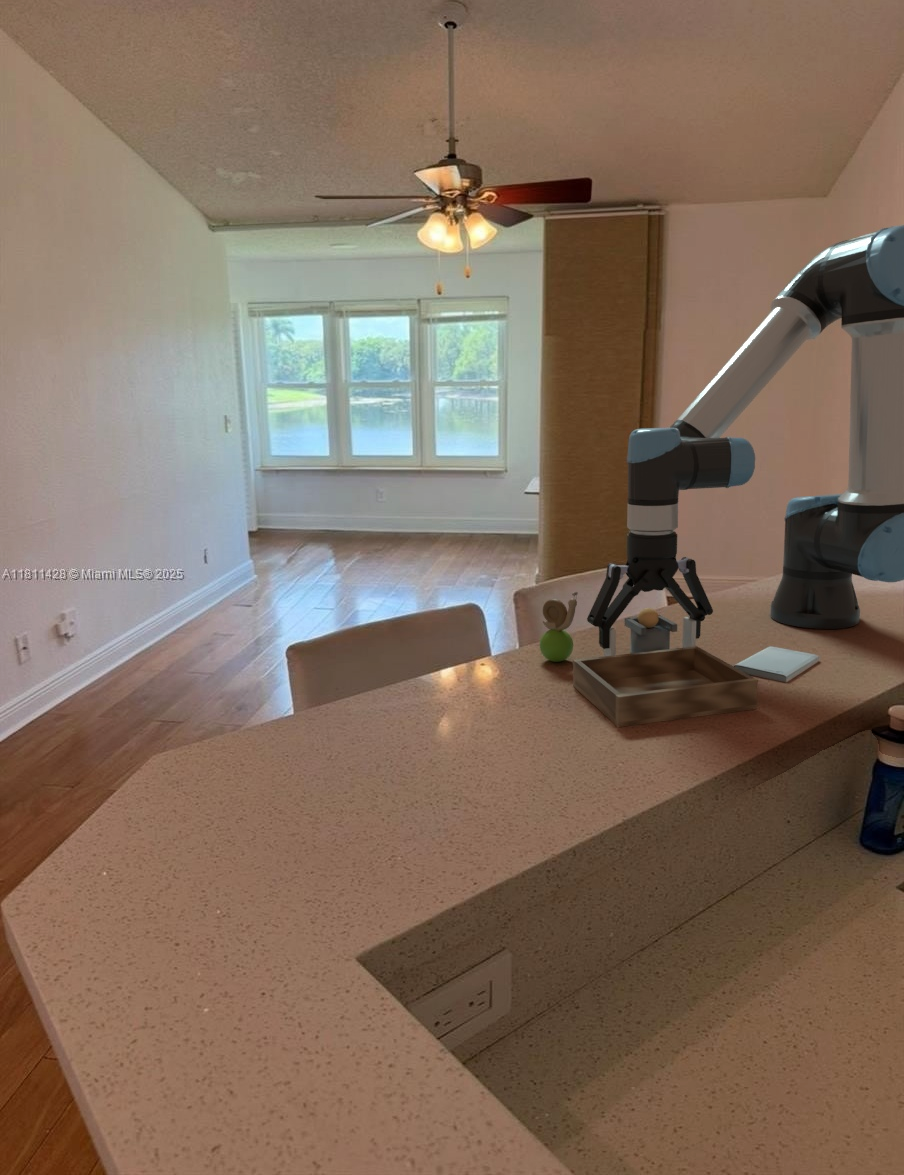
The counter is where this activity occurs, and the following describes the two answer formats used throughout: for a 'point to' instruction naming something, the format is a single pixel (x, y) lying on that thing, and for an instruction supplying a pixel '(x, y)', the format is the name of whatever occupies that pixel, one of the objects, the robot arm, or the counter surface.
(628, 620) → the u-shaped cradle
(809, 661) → the hard drive
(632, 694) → the tray
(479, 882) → the counter surface
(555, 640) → the snail figurine
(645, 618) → the ball
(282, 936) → the counter surface
